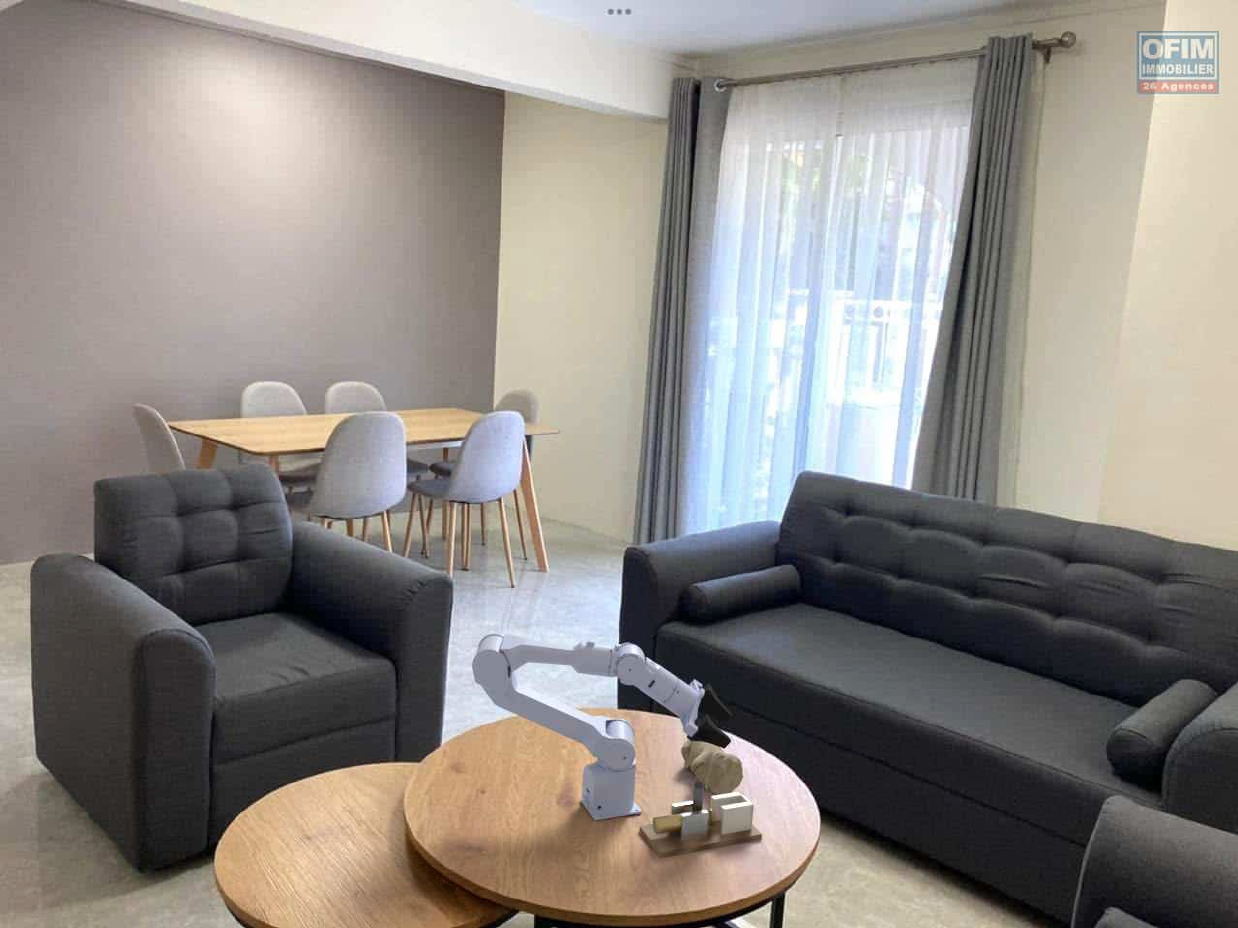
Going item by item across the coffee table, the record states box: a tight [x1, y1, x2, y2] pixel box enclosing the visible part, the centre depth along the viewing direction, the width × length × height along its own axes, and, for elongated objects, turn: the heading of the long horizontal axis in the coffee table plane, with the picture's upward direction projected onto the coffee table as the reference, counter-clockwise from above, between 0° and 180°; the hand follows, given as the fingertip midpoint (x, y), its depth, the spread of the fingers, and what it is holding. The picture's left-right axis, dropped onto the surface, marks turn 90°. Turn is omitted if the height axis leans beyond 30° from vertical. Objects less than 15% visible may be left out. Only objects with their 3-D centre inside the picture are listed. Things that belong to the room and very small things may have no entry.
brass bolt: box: [652, 780, 715, 834], centre depth 176 cm, size 11×3×9 cm, turn 112°
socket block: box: [709, 791, 754, 834], centre depth 180 cm, size 6×5×5 cm
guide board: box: [638, 800, 763, 859], centre depth 178 cm, size 20×9×6 cm, turn 112°
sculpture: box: [680, 739, 744, 796], centre depth 198 cm, size 9×17×10 cm
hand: (728, 731), depth 185 cm, fingers open, 7 cm apart
